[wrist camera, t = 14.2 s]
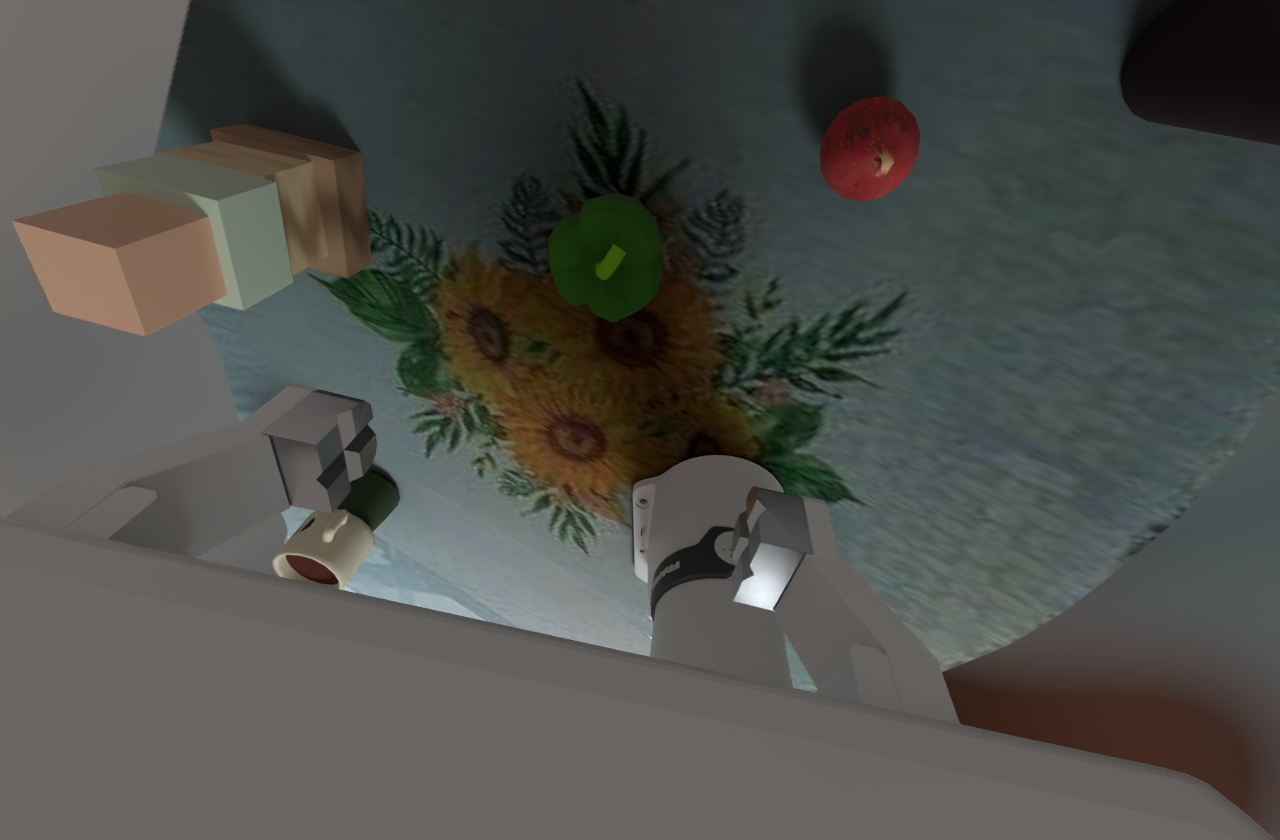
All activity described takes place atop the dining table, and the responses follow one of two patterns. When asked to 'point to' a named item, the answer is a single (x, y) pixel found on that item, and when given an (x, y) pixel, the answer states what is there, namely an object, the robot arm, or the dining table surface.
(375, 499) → the character mug
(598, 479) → the dining table surface
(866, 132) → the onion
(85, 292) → the terracotta block
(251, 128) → the walnut slab
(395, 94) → the dining table surface
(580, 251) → the bell pepper
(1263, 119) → the bottle
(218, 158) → the oak cube
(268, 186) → the sage cube
